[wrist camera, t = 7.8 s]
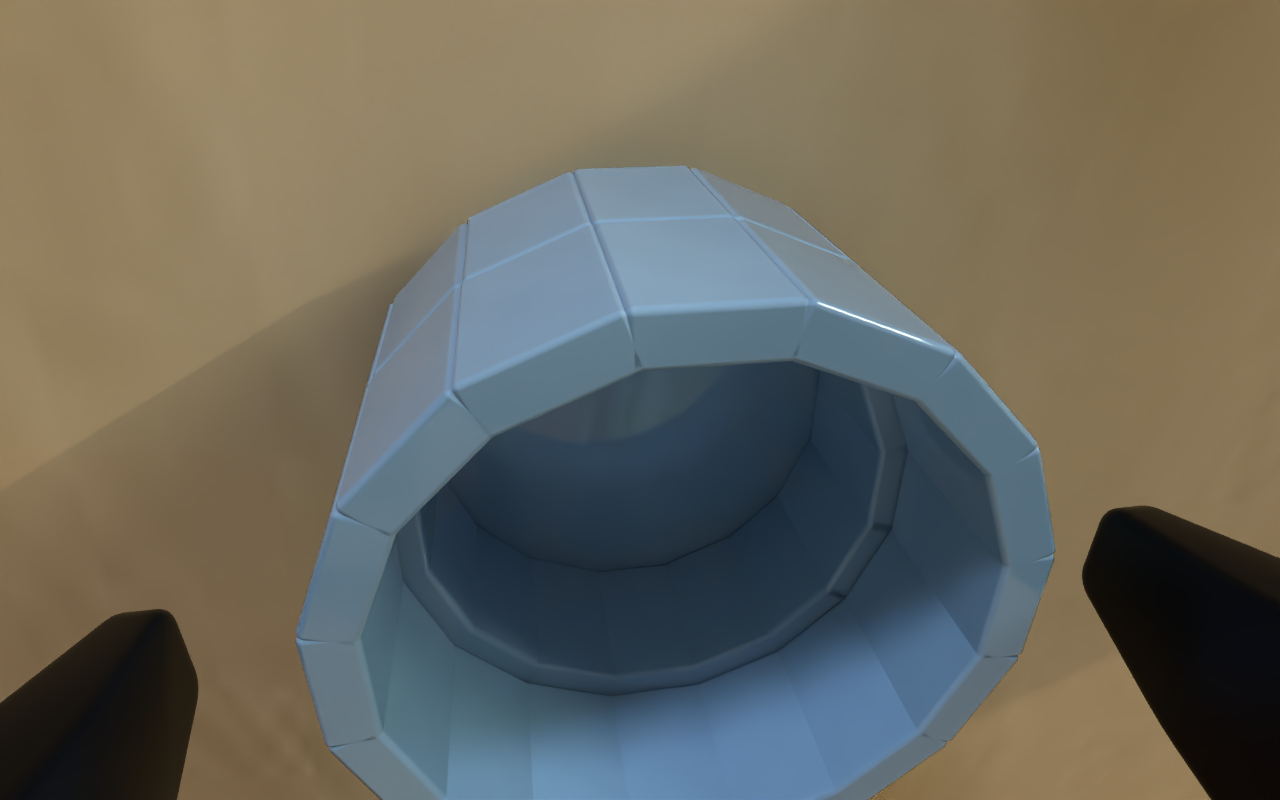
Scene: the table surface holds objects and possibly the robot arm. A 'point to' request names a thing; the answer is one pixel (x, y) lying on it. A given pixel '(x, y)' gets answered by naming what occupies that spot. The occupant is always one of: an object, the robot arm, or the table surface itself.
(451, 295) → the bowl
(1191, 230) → the table surface
